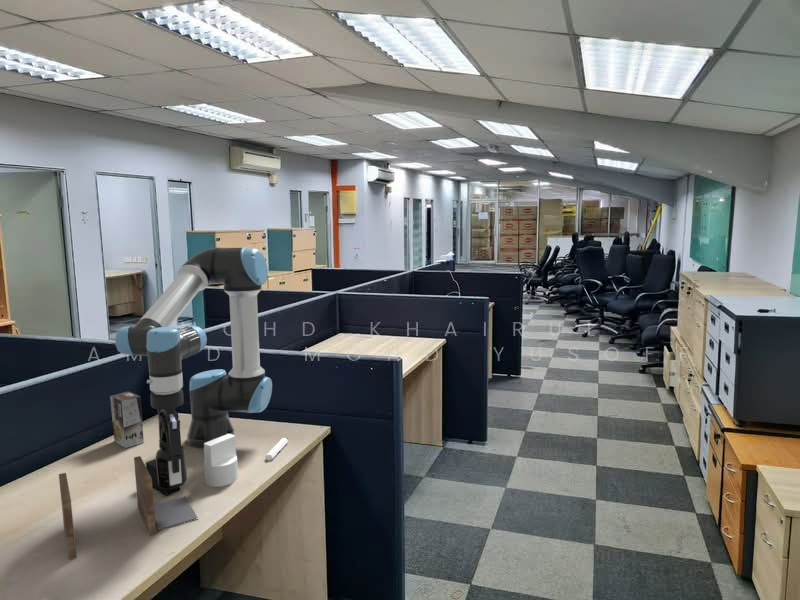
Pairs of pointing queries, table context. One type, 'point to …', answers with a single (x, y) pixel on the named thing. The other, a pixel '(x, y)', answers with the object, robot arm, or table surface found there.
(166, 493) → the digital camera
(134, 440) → the coffee box
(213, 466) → the base with upright slab
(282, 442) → the marker
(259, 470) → the table surface
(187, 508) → the zone mat
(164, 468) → the supplement bottle
